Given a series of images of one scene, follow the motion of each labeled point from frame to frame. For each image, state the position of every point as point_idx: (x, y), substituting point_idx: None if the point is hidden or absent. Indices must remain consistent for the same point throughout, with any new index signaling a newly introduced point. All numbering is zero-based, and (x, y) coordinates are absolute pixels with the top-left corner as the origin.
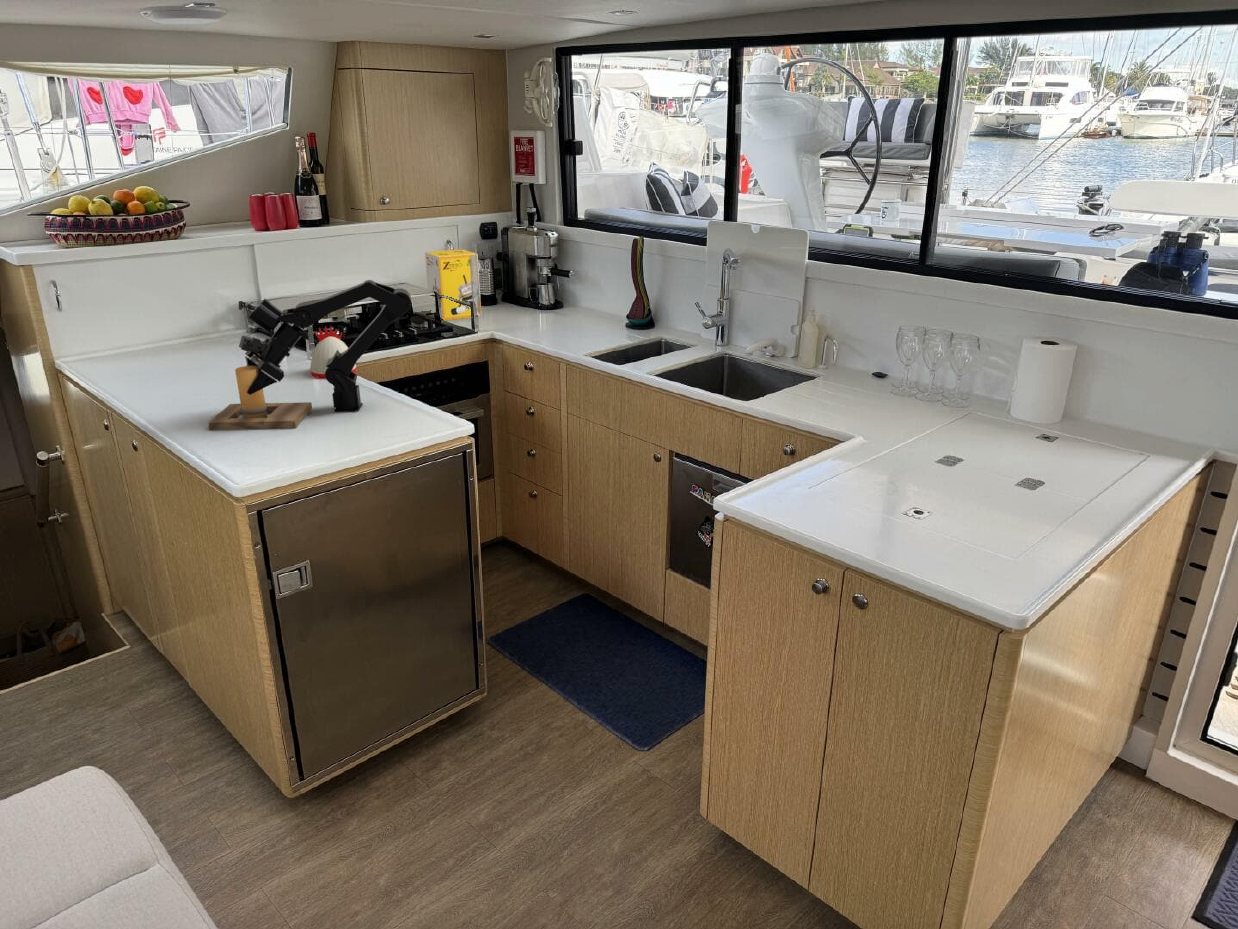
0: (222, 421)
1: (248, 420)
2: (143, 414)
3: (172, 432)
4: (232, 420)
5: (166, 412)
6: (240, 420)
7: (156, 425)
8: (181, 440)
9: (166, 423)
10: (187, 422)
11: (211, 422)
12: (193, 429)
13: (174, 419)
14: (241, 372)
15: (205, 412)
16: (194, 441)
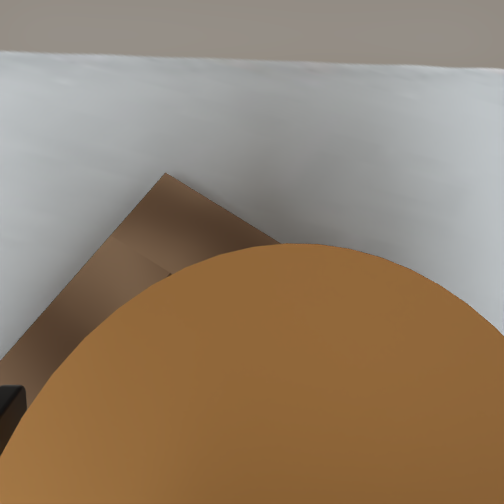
0: (132, 232)
1: (28, 371)
2: (499, 85)
3: (230, 85)
4: (112, 283)
5: (500, 140)
6: (71, 324)
7: (352, 75)
8: (93, 76)
9: (361, 103)
10: (336, 158)
11: (155, 185)
12: (221, 148)
13: (400, 136)
14: (100, 327)
15: (451, 251)
16: (33, 104)
